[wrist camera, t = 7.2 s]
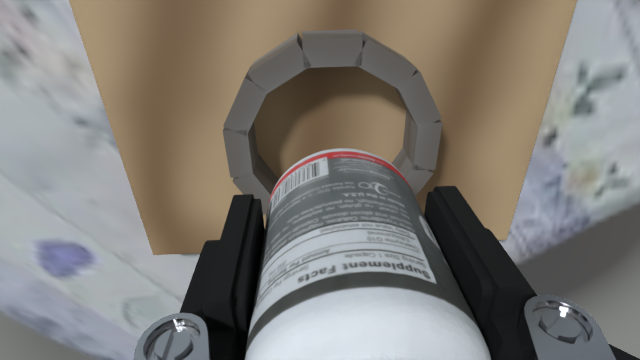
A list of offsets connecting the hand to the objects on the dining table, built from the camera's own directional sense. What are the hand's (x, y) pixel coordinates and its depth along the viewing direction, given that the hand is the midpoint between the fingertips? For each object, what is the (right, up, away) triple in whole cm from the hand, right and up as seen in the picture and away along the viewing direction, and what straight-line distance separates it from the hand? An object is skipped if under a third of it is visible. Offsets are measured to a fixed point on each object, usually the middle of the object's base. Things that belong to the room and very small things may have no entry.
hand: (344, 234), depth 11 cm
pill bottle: (0, +1, +1) cm, 2 cm away
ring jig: (0, +5, +8) cm, 9 cm away
